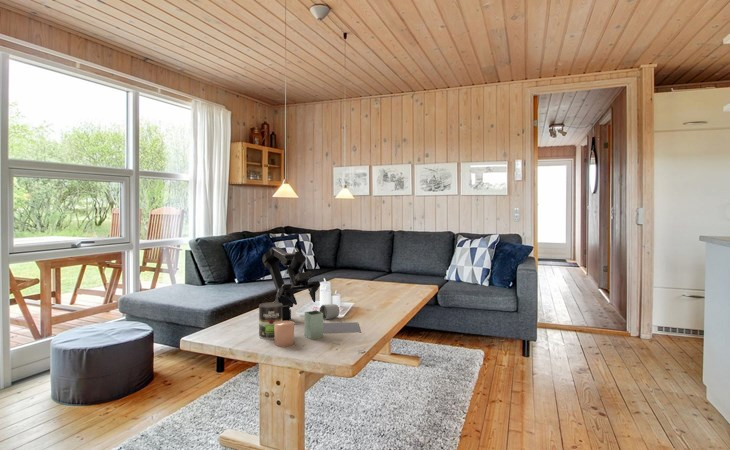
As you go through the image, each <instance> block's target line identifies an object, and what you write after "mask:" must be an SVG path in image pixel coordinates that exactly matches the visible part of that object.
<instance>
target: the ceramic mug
mask: <svg viewBox="0 0 730 450" xmlns="http://www.w3.org/2000/svg"><path fill="white" fill-rule="evenodd" d="M319 312H321V313H323V321H326V320H327V321H328V320H331V319H336V318H338V317H339V315H340V307H339V306H338V305H337V304H335V303H329V304H327V303H326V304H322V305H320V307H319Z"/></svg>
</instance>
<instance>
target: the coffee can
mask: <svg viewBox="0 0 730 450" xmlns="http://www.w3.org/2000/svg"><path fill="white" fill-rule="evenodd" d="M282 306H283V304H282V303H279V302H274V301H268V302H263V303H259V305H258V312H259V313H258V322H259V323H258V331H259V332H258V337H259V338H260V339H275V332H274V324H275V323H276V322H278V321H282Z"/></svg>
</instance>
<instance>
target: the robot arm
mask: <svg viewBox="0 0 730 450" xmlns="http://www.w3.org/2000/svg"><path fill="white" fill-rule="evenodd" d="M261 260H262V263H263V265H264V267H265V268H266V269H267V270H269V272H270V274H271V278H272V281H273V284H274V287H275V290H276V292H277V293H276V295H275V299H274V301H273V302H279V303H282V304H283V306H282V321H291V318H292V309H291V308H294V305H295V306H297V305H298V302H297V299H296V296H295V295H294V291H304V290H307V291H308V292H309V293H308V294H309V295H310V299H311V300H312V301H313V303H316V295H317V294H316V292H318V289H319V288H320V286H321V282H320V281H319V280H311V281H310V282H309V284H307V283H308V280H309V279H311V278H312V277H313V274H312V272H311V270H307V271H304V272H301V270H302V268H303V267H304V264H305V262H306V260H307V257H306V256H305V254H303V253H301V252H300V251H295V252H294V253H292V252H291V253H289V252H287V251H285V250H283V249H282V248H281V247H279V246H278V247H277V246H276V247H275V246H274V247H273V246H272V247H270V248H269V250H268V251H267V252H265V253H264V254H263V256H262V259H261ZM280 263H281V265H283V267H287V268H286V274H287V275H288V277H289V279H290V280H289V283H285V281H284V278H283V276H282V272H281V270H280V267H279V265H280Z"/></svg>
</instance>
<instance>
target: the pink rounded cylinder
mask: <svg viewBox="0 0 730 450" xmlns="http://www.w3.org/2000/svg"><path fill="white" fill-rule="evenodd" d="M274 332H275V338H274V345H275V346H276V347H282V348H283V347H290V346H292V345H294V344H295V322H294V321H291V320H289V321H278V322H276V323H275V324H274Z"/></svg>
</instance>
